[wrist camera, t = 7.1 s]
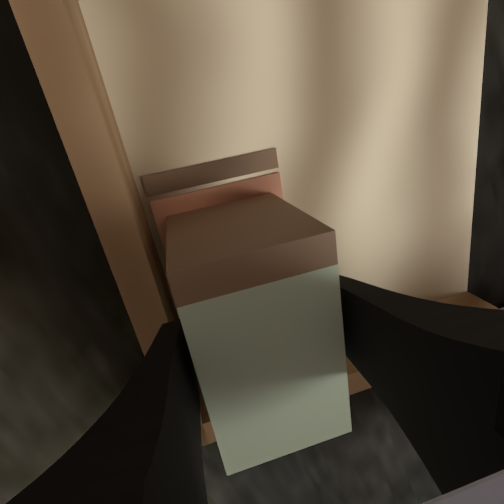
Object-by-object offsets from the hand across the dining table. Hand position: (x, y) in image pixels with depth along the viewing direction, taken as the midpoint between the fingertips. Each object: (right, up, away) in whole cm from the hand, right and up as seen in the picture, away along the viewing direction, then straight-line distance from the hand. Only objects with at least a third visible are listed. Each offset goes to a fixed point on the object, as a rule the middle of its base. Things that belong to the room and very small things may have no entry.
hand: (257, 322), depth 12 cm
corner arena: (+3, +5, +4) cm, 7 cm away
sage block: (-1, +1, +4) cm, 4 cm away
